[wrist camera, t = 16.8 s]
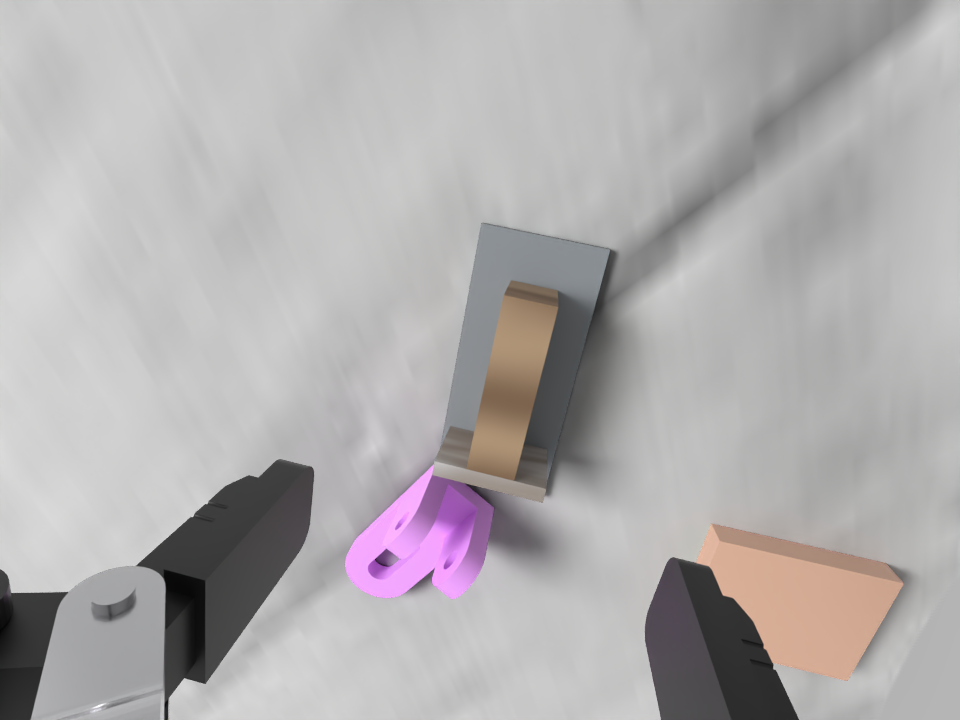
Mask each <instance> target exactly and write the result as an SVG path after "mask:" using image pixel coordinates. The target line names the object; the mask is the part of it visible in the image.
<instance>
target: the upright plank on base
mask: <svg viewBox="0 0 960 720" xmlns="http://www.w3.org/2000/svg"><path fill="white" fill-rule="evenodd" d="M557 311H558V290H553V289H549V288H544V287H540V286H535V285H531V284H526V283H522V282H517V281H513V280H511V281H510V283H509V285H508V287H507V289H506V291H505V293H504V296H503V301H502V305H501V310H500V315H499V319H498V324H497V329H496V333H495V338H494V343H493V347H492V352H491V356H490V361H489V366H488V370H487V375H486V380H485V384H484V389H483V394H482V398H481V403H480V408H479V412H478V417H477V422H476V426H475V431H474V432H473V431H469V430H465V429H461V428H457V427H453V426H450V428H449V430H448V432H447V435H446V437H445V439H444V441H443V444H442V446H441V448H440V450H439V453H438V455H437V457H436V459H435V462H434V467H433V473H432V475H434V476H438V477H442V478H446V479H450V480H454V481H458V482H462V483H466V484H470V485H474V486H478V487H482V488H486V489H490V490H494V491H498V492H502V493H506V494H510V495H514V496H518V497H522V498H526V499H530V500H533V501H537V502H541V503H543V500H544V496H545V493H546V489H547V449H543V448H539V447H535V446H531V445H527V444H524V441H525V437H526V433H527V429H528V425H529V421H530V417H531V413H532V409H533V405H534V401H535V398H536V394H537V390H538V386H539V382H540V378H541V374H542V370H543V366H544V362H545V358H546V354H547V350H548V347H549V343H550V339H551V335H552V331H553V327H554V323H555V319H556V315H557Z"/></svg>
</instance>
